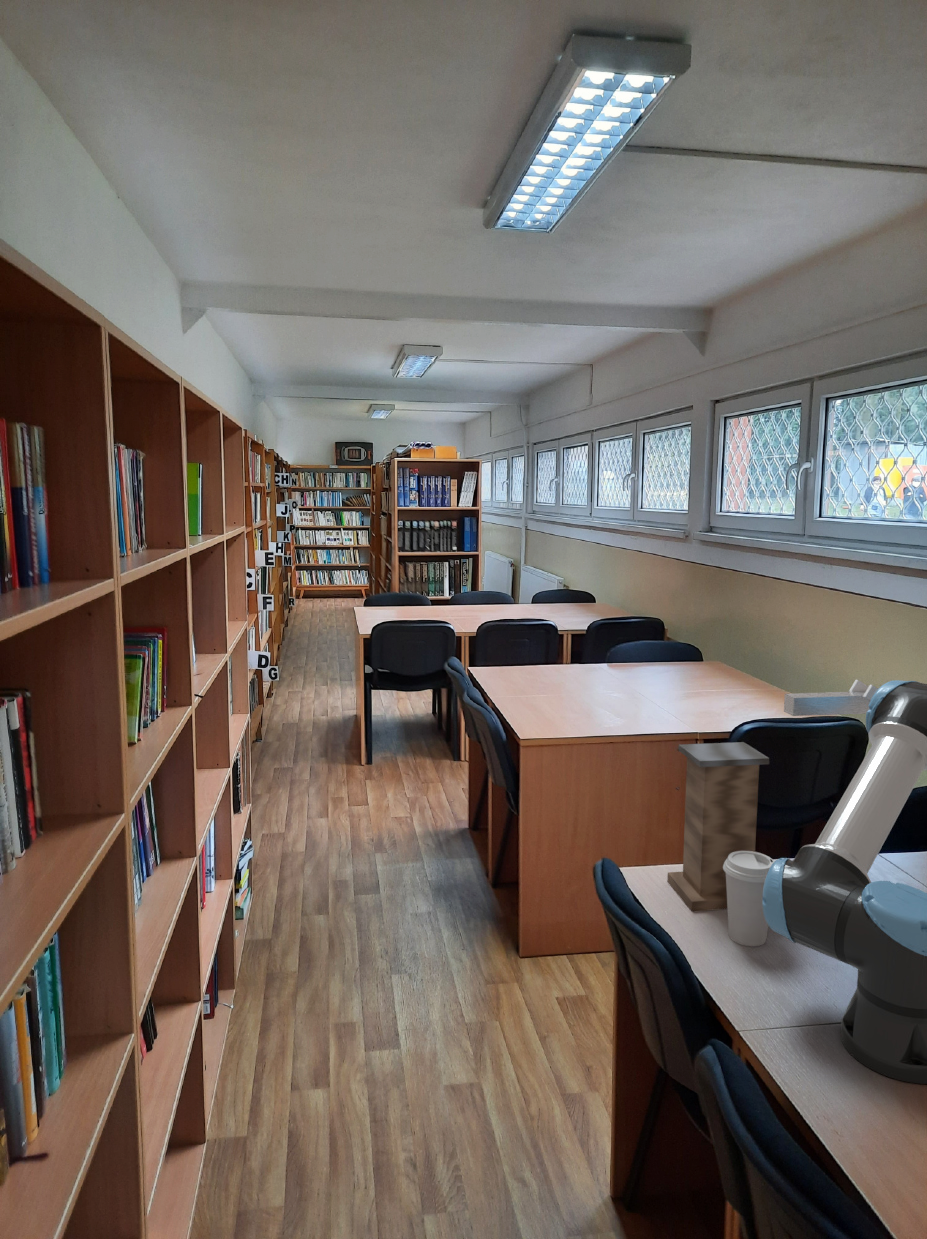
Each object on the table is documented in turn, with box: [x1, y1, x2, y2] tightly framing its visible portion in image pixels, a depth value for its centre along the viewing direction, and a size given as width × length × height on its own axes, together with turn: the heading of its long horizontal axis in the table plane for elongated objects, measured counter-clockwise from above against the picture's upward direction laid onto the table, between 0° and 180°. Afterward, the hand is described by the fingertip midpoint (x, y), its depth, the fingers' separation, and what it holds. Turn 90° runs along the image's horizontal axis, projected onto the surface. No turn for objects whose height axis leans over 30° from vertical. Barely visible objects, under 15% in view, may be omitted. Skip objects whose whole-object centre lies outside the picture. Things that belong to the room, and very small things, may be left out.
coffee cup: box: [723, 851, 775, 947], centre depth 152 cm, size 10×10×15 cm
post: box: [667, 741, 770, 912], centre depth 168 cm, size 16×13×30 cm
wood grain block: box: [783, 691, 870, 717], centre depth 164 cm, size 23×4×4 cm, turn 97°
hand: (860, 688), depth 164 cm, fingers closed on wood grain block, 4 cm apart
